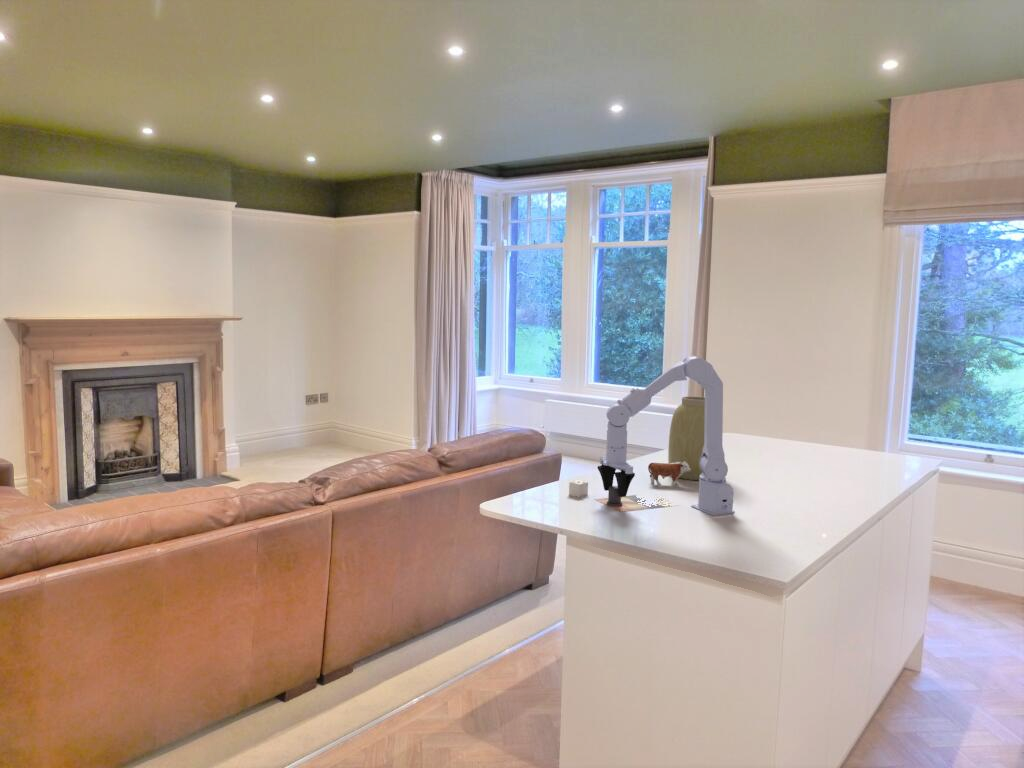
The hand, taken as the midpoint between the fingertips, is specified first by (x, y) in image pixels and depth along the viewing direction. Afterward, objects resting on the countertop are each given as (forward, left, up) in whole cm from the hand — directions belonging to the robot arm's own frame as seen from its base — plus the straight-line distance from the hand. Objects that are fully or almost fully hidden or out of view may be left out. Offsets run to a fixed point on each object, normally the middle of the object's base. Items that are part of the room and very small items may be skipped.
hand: (615, 493), depth 202 cm
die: (+14, +4, -4) cm, 15 cm away
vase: (+23, -46, -4) cm, 51 cm away
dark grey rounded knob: (0, 0, -3) cm, 3 cm away
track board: (0, -7, -4) cm, 8 cm away
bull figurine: (+15, -30, -4) cm, 34 cm away
